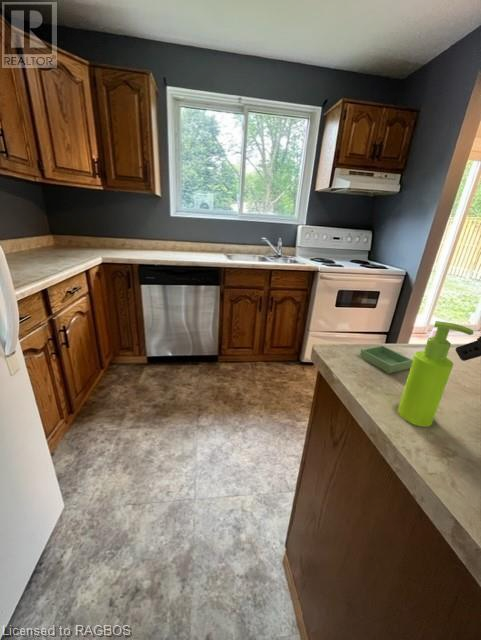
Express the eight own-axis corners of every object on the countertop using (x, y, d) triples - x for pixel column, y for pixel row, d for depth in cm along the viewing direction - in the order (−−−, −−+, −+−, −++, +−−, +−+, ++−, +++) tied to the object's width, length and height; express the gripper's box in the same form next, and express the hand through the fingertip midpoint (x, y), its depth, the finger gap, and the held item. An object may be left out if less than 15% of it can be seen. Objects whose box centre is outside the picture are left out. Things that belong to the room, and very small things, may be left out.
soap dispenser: (437, 434, 49) (475, 334, 42) (395, 418, 53) (423, 323, 46) (439, 417, 54) (473, 324, 47) (400, 403, 58) (426, 315, 51)
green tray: (359, 357, 77) (361, 349, 76) (380, 353, 80) (382, 345, 79) (388, 374, 69) (390, 365, 68) (410, 368, 72) (413, 360, 71)
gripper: (626, 271, 34) (485, 324, 48) (579, 276, 28) (435, 334, 42) (675, 325, 31) (511, 365, 45) (634, 342, 26) (461, 381, 39)
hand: (475, 350), depth 44 cm, fingers open, 8 cm apart
